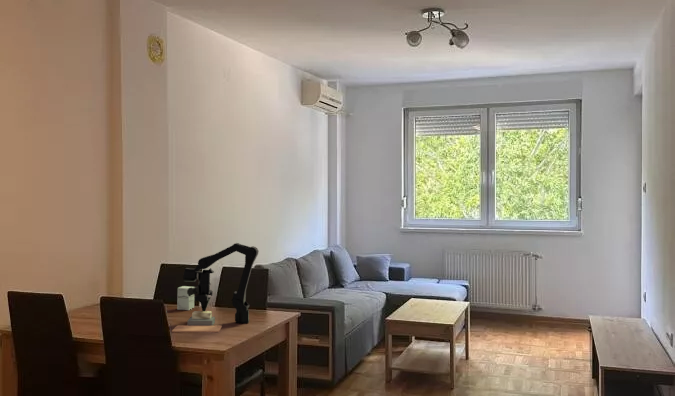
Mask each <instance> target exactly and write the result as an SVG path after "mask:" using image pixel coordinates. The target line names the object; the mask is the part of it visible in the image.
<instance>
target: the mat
mask: <svg viewBox="0 0 675 396" xmlns="http://www.w3.org/2000/svg"><path fill="white" fill-rule="evenodd" d="M222 327H223V325H213V326H212V325H187V324H186V325H182V324H180V325H176V326H175V327H174V328H173V329H172V330H171V332H172V333H219V332H220V331H221V329H222Z"/></svg>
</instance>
